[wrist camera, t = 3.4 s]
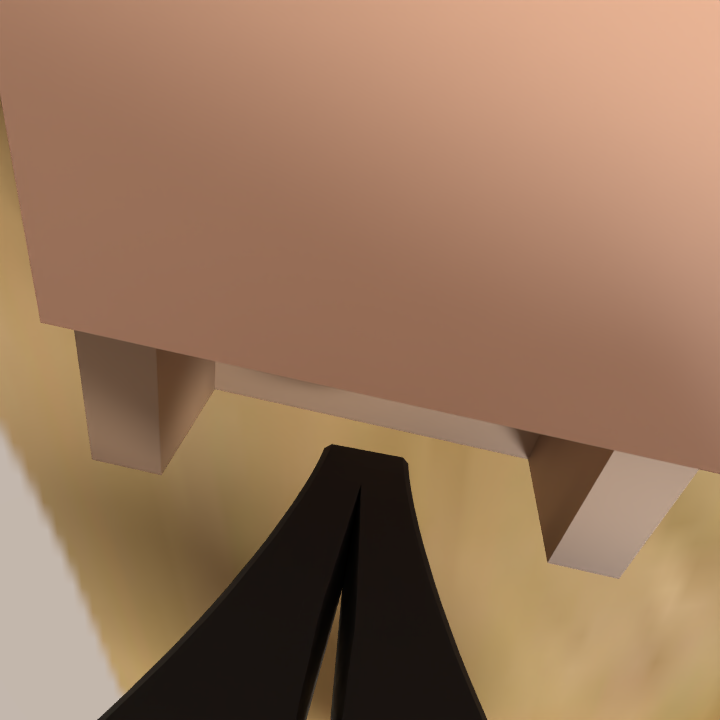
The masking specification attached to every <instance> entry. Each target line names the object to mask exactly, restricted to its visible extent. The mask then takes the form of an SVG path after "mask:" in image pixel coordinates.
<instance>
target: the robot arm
mask: <svg viewBox="0 0 720 720" xmlns="http://www.w3.org/2000/svg"><path fill="white" fill-rule="evenodd" d="M341 591H342V597H341V608H340V619H339V630H338V641H337V653H336V664H335V675H334V686H333V698H332V709H331V720H487V718H486V716H485V713H484V711H483V709H482V706H481V704H480V702H479V699H478V697H477V695H476V692H475V690H474V688H473V685H472V683H471V681H470V678H469V676H468V673H467V671H466V668H465V666H464V663H463V661H462V658H461V656H460V653H459V650H458V648H457V645H456V643H455V640H454V637H453V634H452V632H451V629H450V626H449V623H448V620H447V618H446V615H445V612H444V609H443V607H442V604H441V601H440V598H439V594H438V591H437V588H436V585H435V582H434V579H433V575H432V572H431V569H430V565H429V562H428V559H427V555H426V552H425V548H424V545H423V541H422V537H421V534H420V530H419V526H418V521H417V517H416V512H415V508H414V503H413V498H412V492H411V486H410V479H409V470H408V463H407V462H406V461H405V459H404V458H402V457H397V456H392V455H386V454H381V453H376V452H371V451H365V450H360V449H355V448H349V447H344V446H339V445H333V444H331V445H329V446H328V447H326V448H324V450H323V453H322V455H321V457H320V459H319V461H318V463H317V465H316V467H315V468H314V470H313V472H312V474H311V475H310V477H309V479H308V480H307V482H306V484H305V485H304V487H303V488H302V490H301V491H300V493H299V495H298V496H297V498H296V499H295V501H294V502H293V504H292V505H291V506H290V508H289V509H288V511H287V512H286V513H285V515H284V516H283V518H282V519H281V520H280V522H279V523H278V524H277V526H276V527H275V529H274V530H273V531H272V533H271V534H270V535H269V537H268V538H267V539H266V541H265V542H264V543H263V545H262V546H261V547H260V549H259V550H258V551H257V552H256V553H255V555H254V556H253V557H252V558H251V559H250V561H249V562H248V563H247V564H246V566H245V567H244V568H243V569H242V570H241V572H240V573H239V574H238V575H237V576H236V578H235V579H234V580H233V581H232V583H231V584H230V585H229V586H228V587H227V589H226V590H225V591H224V592H223V593H222V594H221V595H220V597H219V598H218V599H217V600H216V601H215V602H214V603H213V604H212V606H211V607H210V608H209V609H208V610H207V611H206V612H205V613H204V614H203V615H202V617H201V618H200V619H199V620H198V621H197V622H196V623H195V624H194V625H193V626H192V627H191V628H190V629H189V630H188V631H187V633H186V634H185V635H184V636H183V637H182V638H181V639H180V640H179V641H178V642H177V643H176V644H175V645H174V646H173V647H172V648H171V649H170V650H169V651H168V652H167V653H166V654H165V655H164V656H163V657H162V658H161V659H160V660H159V661H158V662H157V663H156V664H155V665H154V666H153V667H152V668H151V669H150V670H149V671H148V672H147V673H146V674H145V675H144V676H143V677H142V678H141V679H140V680H139V681H138V682H137V683H136V684H135V685H134V686H133V687H132V688H131V689H130V690H129V691H128V692H127V693H126V694H124V695H123V696H122V697H121V698H120V699H119V700H118V701H117V702H116V703H115V704H114V705H113V706H112V707H111V708H110V709H109V710H107V711H106V712H105V713H104V714H103V715H102V716H101V717H100V718H99V719H98V720H306V719H307V715H308V711H309V708H310V704H311V701H312V697H313V693H314V690H315V686H316V682H317V679H318V675H319V671H320V668H321V664H322V661H323V657H324V653H325V650H326V646H327V642H328V639H329V635H330V631H331V628H332V624H333V620H334V617H335V613H336V610H337V606H338V602H339V599H340V595H341Z"/></svg>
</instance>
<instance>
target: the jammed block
mask: <svg viewBox="0 0 720 720" xmlns="http://www.w3.org/2000/svg"><path fill="white" fill-rule="evenodd" d="M0 96H1V102H2V108H3V113H4V119H5V125H6V130H7V136H8V142H9V147H10V153H11V159H12V164H13V170H14V175H15V181H16V187H17V192H18V198H19V204H20V209H21V215H22V221H23V226H24V232H25V237H26V243H27V249H28V254H29V260H30V266H31V271H32V277H33V283H34V288H35V294H36V299H37V305H38V311H39V316H40V322H41V323H45V324H50V325H54V326H59V327H63V328H68V329H72V330H77V331H81V332H86V333H90V334H94V335H99V336H103V337H108V338H112V339H117V340H121V341H126V342H130V343H135V344H139V345H144V346H148V347H153V348H157V349H162V350H166V351H171V352H175V353H180V354H184V355H189V356H193V357H198V358H202V359H207V360H211V361H216V362H220V363H224V364H229V365H233V366H238V367H242V368H247V369H251V370H256V371H260V372H265V373H269V374H274V375H278V376H283V377H287V378H292V379H296V380H301V381H305V382H310V383H314V384H319V385H323V386H328V387H332V388H337V389H341V390H346V391H350V392H355V393H359V394H363V395H368V396H372V397H377V398H381V399H386V400H390V401H395V402H399V403H404V404H408V405H413V406H417V407H422V408H426V409H431V410H435V411H440V412H444V413H449V414H453V415H458V416H462V417H467V418H471V419H476V420H480V421H485V422H489V423H494V424H498V425H502V426H507V427H511V428H516V429H520V430H525V431H529V432H534V433H538V434H543V435H547V436H552V437H556V438H561V439H565V440H570V441H574V442H579V443H583V444H588V445H592V446H597V447H601V448H606V449H610V450H615V451H619V452H624V453H628V454H633V455H637V456H641V457H646V458H650V459H655V460H659V461H664V462H668V463H673V464H677V465H682V466H686V467H691V468H695V469H700V470H704V471H709V472H713V473H718V474H720V0H0Z"/></svg>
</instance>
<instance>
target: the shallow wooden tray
mask: <svg viewBox="0 0 720 720" xmlns="http://www.w3.org/2000/svg"><path fill="white" fill-rule="evenodd" d="M74 333H75V340H76V347H77V354H78V361H79V369H80V376H81V383H82V390H83V397H84V405H85V412H86V419H87V426H88V433H89V441H90V448H91V455H92V459H93V460H97V461H101V462H106V463H110V464H115V465H119V466H124V467H128V468H132V469H137V470H141V471H146V472H150V473H154V474H159V475H162V473H163V472H164V470H165V468H166V467H167V465H168V464H169V462H170V460H171V459H172V457H173V456H174V454H175V452H176V451H177V449H178V447H179V446H180V444H181V443H182V441H183V439H184V438H185V436H186V435H187V433H188V431H189V430H190V428H191V426H192V425H193V423H194V422H195V420H196V418H197V417H198V415H199V414H200V412H201V410H202V409H203V407H204V405H205V404H206V402H207V401H208V399H209V397H210V396H211V394H212V393H213V391H214V389H217V390H221V391H225V392H230V393H234V394H239V395H243V396H248V397H252V398H257V399H261V400H266V401H270V402H275V403H279V404H284V405H288V406H292V407H297V408H301V409H306V410H310V411H315V412H319V413H324V414H328V415H333V416H337V417H342V418H346V419H351V420H355V421H360V422H364V423H368V424H373V425H377V426H382V427H386V428H391V429H395V430H400V431H404V432H409V433H413V434H418V435H422V436H427V437H431V438H435V439H440V440H444V441H449V442H453V443H458V444H462V445H467V446H471V447H476V448H480V449H485V450H489V451H494V452H498V453H502V454H507V455H511V456H516V457H520V458H525V459H528V461H529V467H530V472H531V477H532V482H533V488H534V493H535V498H536V504H537V509H538V514H539V520H540V525H541V530H542V535H543V541H544V546H545V551H546V557H547V562H548V563H551V564H556V565H560V566H564V567H569V568H573V569H578V570H582V571H586V572H591V573H595V574H600V575H604V576H608V577H613V578H617V579H619V578H620V577H621V575H622V574H623V573H624V571H625V570H626V568H627V567H628V566H629V564H630V563H631V562H632V560H633V559H634V557H635V556H636V555H637V553H638V552H639V551H640V549H641V548H642V547H643V545H644V544H645V542H646V541H647V540H648V538H649V537H650V536H651V534H652V533H653V532H654V530H655V529H656V527H657V526H658V525H659V523H660V522H661V521H662V519H663V518H664V516H665V515H666V514H667V512H668V511H669V510H670V508H671V507H672V506H673V504H674V503H675V501H676V500H677V499H678V497H679V496H680V495H681V493H682V492H683V490H684V489H685V488H686V486H687V485H688V484H689V482H690V481H691V480H692V478H693V477H694V475H695V474H696V473H697V471H698V470H699V469H695V468H691V467H686V466H682V465H677V464H673V463H668V462H664V461H659V460H655V459H650V458H646V457H641V456H637V455H633V454H628V453H624V452H619V451H615V450H610V449H606V448H601V447H597V446H592V445H588V444H583V443H579V442H574V441H570V440H565V439H561V438H556V437H552V436H547V435H543V434H538V433H534V432H529V431H525V430H520V429H516V428H511V427H507V426H502V425H498V424H494V423H489V422H485V421H480V420H476V419H471V418H467V417H462V416H458V415H453V414H449V413H444V412H440V411H435V410H431V409H426V408H422V407H417V406H413V405H408V404H404V403H399V402H395V401H390V400H386V399H381V398H377V397H372V396H368V395H363V394H359V393H355V392H350V391H346V390H341V389H337V388H332V387H328V386H323V385H319V384H314V383H310V382H305V381H301V380H296V379H292V378H287V377H283V376H278V375H274V374H269V373H265V372H260V371H256V370H251V369H247V368H242V367H238V366H233V365H229V364H224V363H220V362H216V361H211V360H207V359H202V358H198V357H193V356H189V355H184V354H180V353H175V352H171V351H166V350H162V349H157V348H153V347H148V346H144V345H139V344H135V343H130V342H126V341H121V340H117V339H112V338H108V337H103V336H99V335H94V334H90V333H86V332H81V331H77V330H74Z"/></svg>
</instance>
